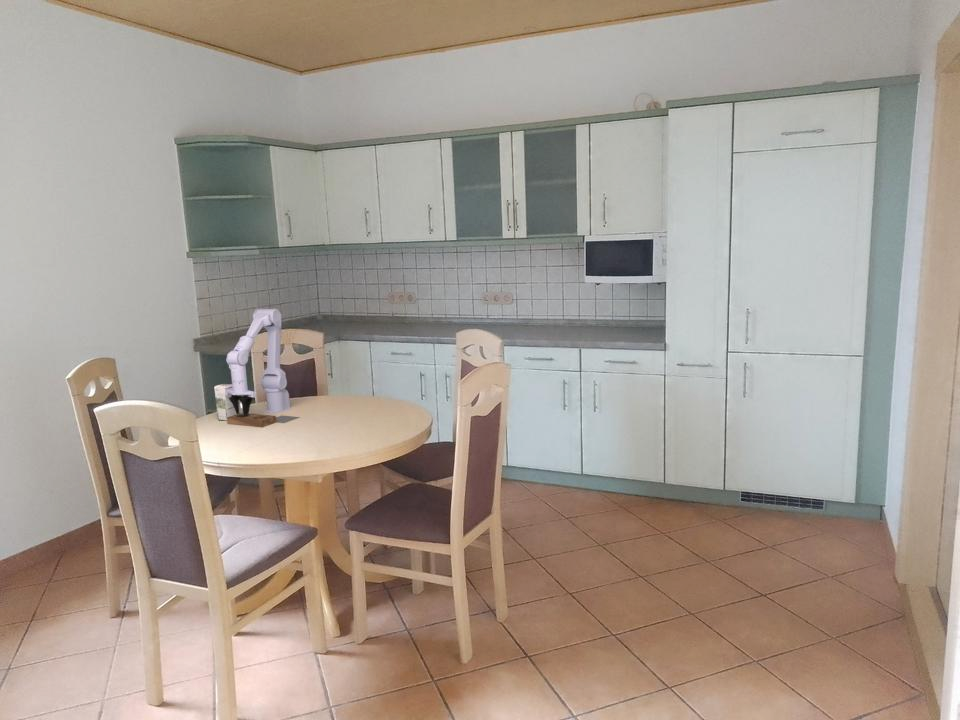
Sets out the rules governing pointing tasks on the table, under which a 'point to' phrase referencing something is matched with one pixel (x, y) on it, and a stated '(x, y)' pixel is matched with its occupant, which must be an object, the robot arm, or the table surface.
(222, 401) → the syrup box
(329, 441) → the table surface
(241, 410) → the peg
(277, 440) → the table surface
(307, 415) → the table surface
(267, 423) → the walnut hole block
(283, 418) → the rubber mat
